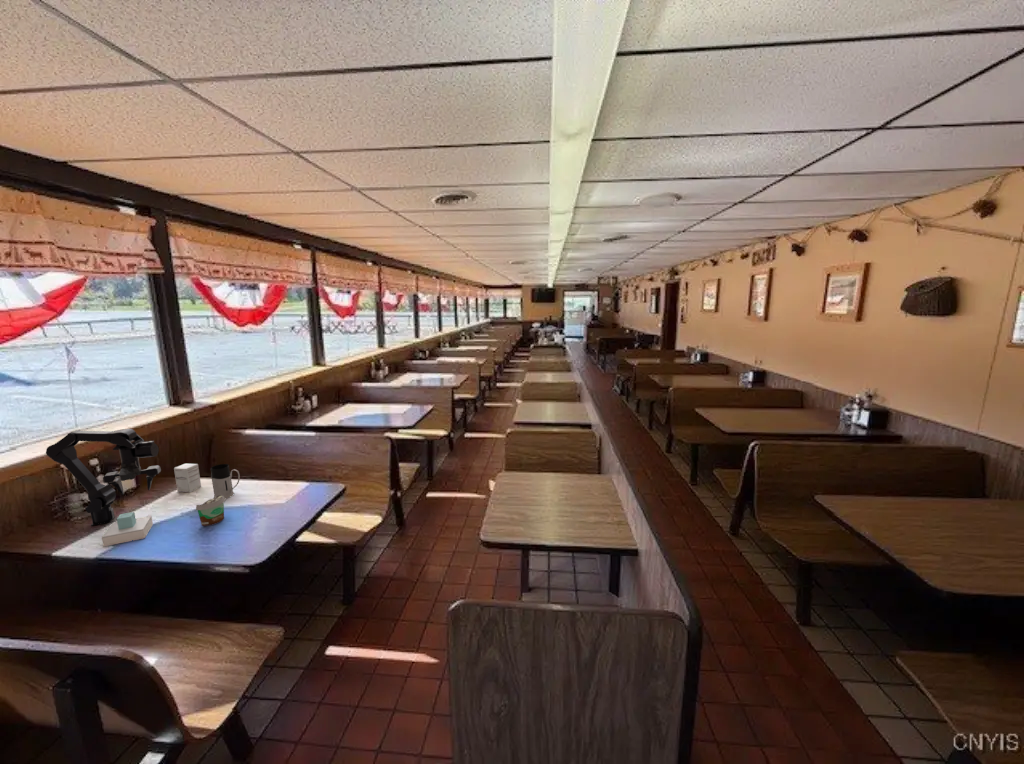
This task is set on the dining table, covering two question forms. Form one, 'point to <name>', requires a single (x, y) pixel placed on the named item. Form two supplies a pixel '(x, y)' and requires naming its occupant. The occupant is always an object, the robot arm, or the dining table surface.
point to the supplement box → (187, 477)
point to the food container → (211, 511)
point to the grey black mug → (222, 480)
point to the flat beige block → (127, 532)
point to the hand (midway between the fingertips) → (136, 492)
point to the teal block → (126, 520)
